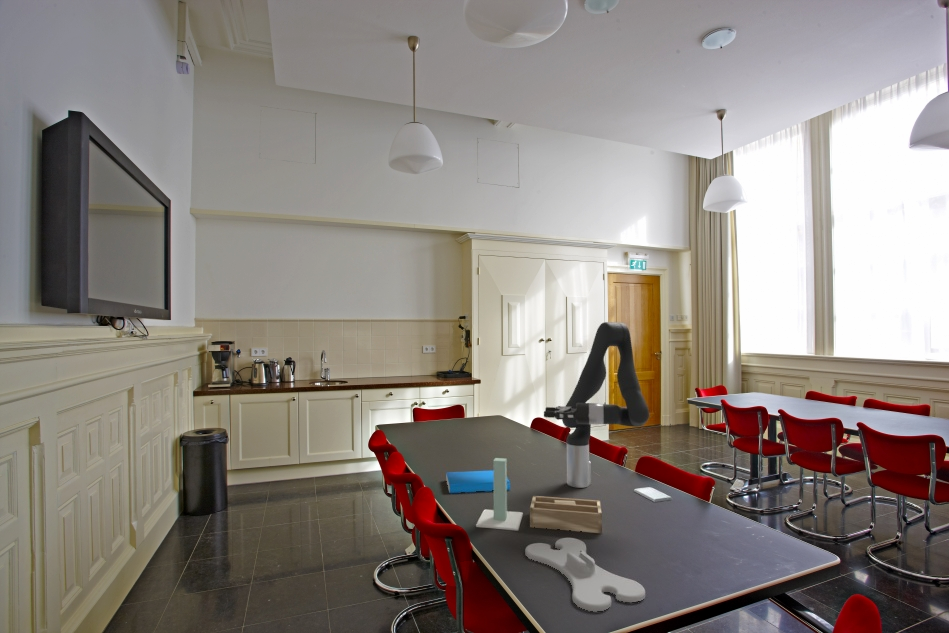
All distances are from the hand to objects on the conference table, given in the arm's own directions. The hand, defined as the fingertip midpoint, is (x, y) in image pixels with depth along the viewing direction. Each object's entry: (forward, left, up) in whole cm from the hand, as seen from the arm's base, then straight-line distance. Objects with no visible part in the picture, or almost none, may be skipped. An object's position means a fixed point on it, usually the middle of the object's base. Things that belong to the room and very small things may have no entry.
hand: (544, 412), depth 171 cm
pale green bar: (+20, 0, -34) cm, 40 cm away
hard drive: (-45, +13, -36) cm, 59 cm away
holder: (+23, +40, -36) cm, 58 cm away
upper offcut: (+1, +11, -32) cm, 34 cm away
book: (+7, -35, -36) cm, 51 cm away
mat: (+20, 0, -35) cm, 40 cm away
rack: (+3, +13, -35) cm, 38 cm away
